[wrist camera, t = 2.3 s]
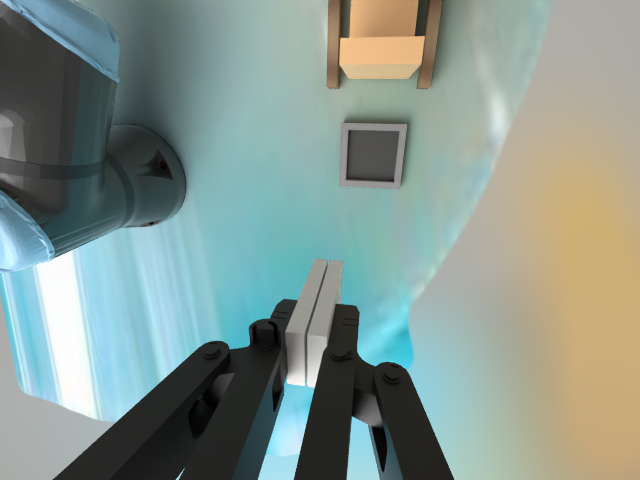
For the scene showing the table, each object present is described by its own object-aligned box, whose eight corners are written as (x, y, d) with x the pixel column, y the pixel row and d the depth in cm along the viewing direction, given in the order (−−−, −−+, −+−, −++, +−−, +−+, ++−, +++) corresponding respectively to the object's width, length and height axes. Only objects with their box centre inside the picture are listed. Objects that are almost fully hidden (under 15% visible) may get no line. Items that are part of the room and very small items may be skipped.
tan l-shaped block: (408, 78, 36) (421, 64, 26) (348, 78, 37) (339, 64, 27) (422, -53, 31) (446, -134, 21) (354, -49, 32) (346, -124, 22)
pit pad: (398, 187, 41) (399, 188, 40) (340, 184, 42) (339, 185, 41) (406, 124, 38) (407, 124, 37) (343, 122, 39) (342, 122, 38)
